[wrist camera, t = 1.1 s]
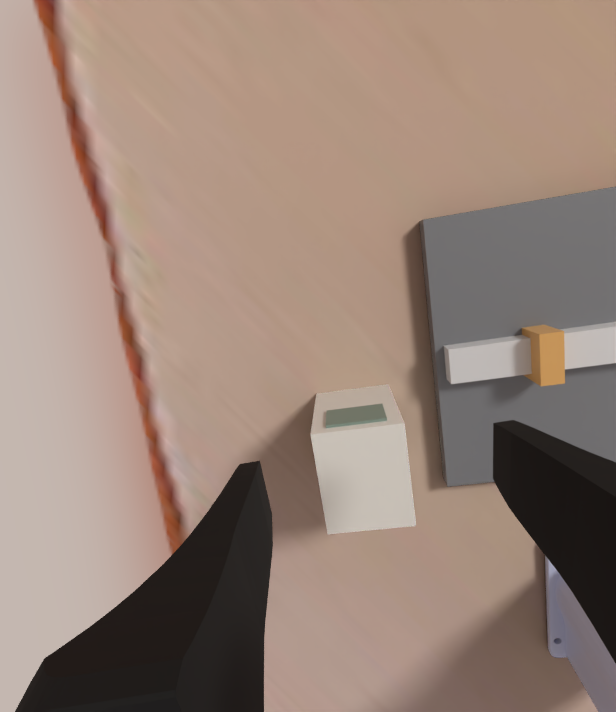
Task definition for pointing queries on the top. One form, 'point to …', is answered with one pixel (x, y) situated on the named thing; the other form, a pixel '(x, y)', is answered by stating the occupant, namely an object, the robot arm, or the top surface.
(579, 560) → the robot arm
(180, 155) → the top surface
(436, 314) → the mounting board
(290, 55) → the top surface
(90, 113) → the top surface
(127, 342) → the top surface
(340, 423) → the block
